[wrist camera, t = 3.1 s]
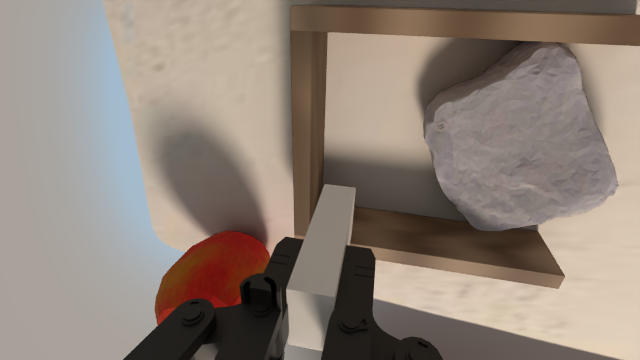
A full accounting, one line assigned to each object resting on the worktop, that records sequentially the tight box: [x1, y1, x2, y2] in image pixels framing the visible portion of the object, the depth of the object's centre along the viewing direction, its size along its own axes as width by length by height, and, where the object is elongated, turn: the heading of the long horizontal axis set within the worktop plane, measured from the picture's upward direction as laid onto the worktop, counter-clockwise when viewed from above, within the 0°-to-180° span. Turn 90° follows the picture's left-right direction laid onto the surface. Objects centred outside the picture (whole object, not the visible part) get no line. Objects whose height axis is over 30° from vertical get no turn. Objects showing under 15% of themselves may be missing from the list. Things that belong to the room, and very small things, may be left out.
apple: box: [155, 231, 270, 325], centre depth 29 cm, size 9×9×12 cm
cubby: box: [290, 4, 640, 289], centre depth 22 cm, size 19×17×5 cm
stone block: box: [423, 41, 619, 231], centre depth 23 cm, size 12×5×10 cm
